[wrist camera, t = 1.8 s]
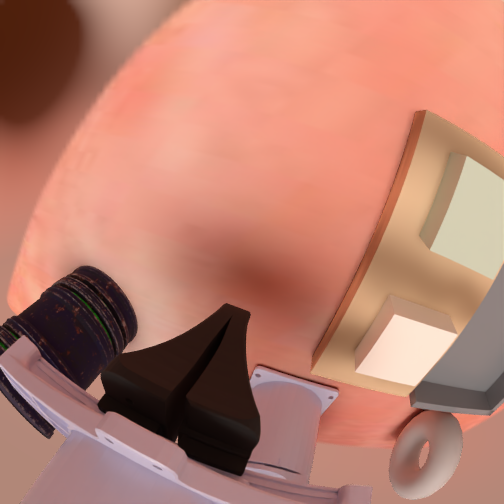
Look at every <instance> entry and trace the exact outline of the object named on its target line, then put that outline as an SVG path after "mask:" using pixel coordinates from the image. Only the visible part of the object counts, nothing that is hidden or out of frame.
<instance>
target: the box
mask: <svg viewBox="0 0 504 504" xmlns="http://www.w3.org/2000/svg"><path fill="white" fill-rule="evenodd" d="M409 396H410V404H411V407H414V408H421V409H428V410H435V411H443V412H451V413H461V414H473V415H491V414H492V413H493V412H494V411H495V410H496V409H497V408H498V407H499V406H500V405H501V404H503V403H504V263H503V265H502V267H501V269H500V271H499V273H498V275H497V277H496V279H495V280H494V282H493V284H492V286H491V287H490V289H489V291H488V293H487V294H486V296H485V298H484V299H483V301H482V302H481V304H480V306H479V307H478V309H477V310H476V312H475V313H474V315H473V316H472V318H471V319H470V321H469V322H468V324H467V325H466V326H465V328H464V329H463V331H462V332H461V333H460V335H459V336H458V338H457V339H456V340H455V342H454V343H453V344H452V345H451V347H450V348H449V349H448V351H447V352H446V353H445V354H444V356H443V357H442V358H441V359H440V360H439V362H438V363H437V364H436V365H435V366H434V368H433V369H432V370H431V371H430V372H429V373H428V374H427V376H426V377H425V378H424V379H423V380H422V381H421V382H420V383H419V384H418V385H417V386H416V388H415V389H414V390H413V391H412V392H411V393H410V394H409Z"/></svg>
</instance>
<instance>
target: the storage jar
mask: <svg viewBox="0 0 504 504" xmlns="http://www.w3.org/2000/svg"><path fill="white" fill-rule="evenodd" d="M136 333H137V320H136V315H135V313H134V310H133V308H132V306H131V304H130V302H129V300H128V299H127V297H126V295H125V294H124V293H123V291H122V290H121V289H120V288H119V286H118V285H117V284H116V283H115V282H114V281H113V280H112V279H111V278H110V277H109V276H107V275H106V274H105V273H103V272H102V271H100V270H98V269H96V268H94V267H91V266H81V267H79V268H77V269H76V270H75V271H74V272H73V273H72V274H69V275H67V276H66V277H63V278H61V279H60V280H58V281H57V282H56V283H54V284H53V285H52V287H50V288H48V289H47V290H46V291H45V292H43V293H42V295H41V297H40V299H39V300H37V301H36V302H35V303H33V304H32V305H31V306H29V307H28V308H27V309H26V310H24V311H23V312H22V313H21V314H19V315H18V316H12V317H11V318H10V319H7V321H6V322H5V323H4V324H3V325H2V326H0V356H1V355H2V354H3V353H4V352H5V351H6V350H7V349H8V348H10V347H11V346H12V345H13V344H14V343H15V342H16V341H17V340H18V339H19V338H21V337H22V336H23V335H25V336H26V337H27V338H28V339H29V340H30V341H31V342H32V343H33V344H34V345H35V346H36V347H37V348H38V350H39V352H40V354H41V357H42V358H43V359H44V360H46V361H47V362H48V363H49V364H50V365H52V366H53V367H54V368H55V369H57V370H58V371H59V372H60V373H62V374H63V375H64V376H65V377H67V378H68V379H69V380H71V381H72V382H73V383H75V384H76V385H77V386H79V387H80V388H82V389H83V390H84V391H86V389H87V388H88V387H89V386H90V385H91V383H92V382H93V381H94V380H95V379H96V378H97V376H98V375H99V374H100V373H102V371H103V370H104V369H105V368H106V366H107V365H108V364H109V363H110V362H111V361H112V360H113V359H114V358H115V357H116V356H118V355H119V354H122V352H123V350H124V349H125V347H126V346H127V344H128V343H129V342H131V341H132V340H133V338H134V337H135V336H136ZM0 391H1V392H2V393H3V395H4V396H5V397H6V398H7V399H8V401H9V402H10V403H11V404H12V405H13V406H14V407H15V408H16V410H17V411H18V412H19V413H20V414H21V415H22V416H23V417H24V418H25V419H26V420H27V421H28V422H29V423H30V424H31V425H32V426H33V427H34V428H36V429H37V430H38V431H39V432H40V433H41V434H42V435H44V436H45V437H46V438H48V439H50V438H51V436H52V435H53V434H54V433H53V431H54V430H55V429H56V428H54V427H53V426H52V425H51V424H50V423H49V422H48V421H47V420H46V419H45V418H44V417H42V416H41V415H40V414H39V413H38V412H37V411H36V410H35V409H34V408H33V407H32V406H31V405H30V404H29V403H28V402H27V401H26V400H25V399H24V398H23V397H22V396H21V395H20V394H19V393H18V391H17V390H16V389H15V388H14V387H13V386H12V384H11V383H10V381H9V380H8V378H7V377H6V375H5V374H4V372H3V371H2V369H1V367H0Z"/></svg>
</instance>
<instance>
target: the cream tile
mask: <svg viewBox="0 0 504 504" xmlns="http://www.w3.org/2000/svg"><path fill="white" fill-rule="evenodd" d="M457 335H458V334H457V331H456V329H455V327H454V325H453V322H452V320H451V318H450V316H449V315H447V314H444V313H441V312H438V311H435V310H432V309H430V308H427V307H424V306H421V305H418V304H415V303H413V302H410V301H407V300H404V299H401V298H398V297H396V296H393V295H390V294H389V296H388V298H387V300H386V301H385V303H384V305H383V307H382V308H381V310H380V312H379V313H378V315H377V317H376V318H375V320H374V322H373V323H372V325H371V326H370V328H369V330H368V331H367V333H366V334H365V336H364V338H363V339H362V341H361V342H360V344H359V345H358V347H357V348H356V350H355V372H356V373H360V374H364V375H368V376H372V377H376V378H380V379H384V380H388V381H393V382H397V383H402V384H406V385H411V386H416V385H417V384H418V383H419V382H420V380H421V379H422V378H423V377H424V376H425V375H426V374H427V373H428V372H429V370H430V369H431V368H432V367H433V366H434V365H435V363H436V362H437V361H438V360H439V359H440V357H441V356H442V355H443V354H444V352H445V351H446V350H447V349H448V347H449V346H450V345H451V343H452V342H453V341H454V339H455V338H456V337H457Z"/></svg>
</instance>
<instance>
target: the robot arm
mask: <svg viewBox="0 0 504 504" xmlns="http://www.w3.org/2000/svg"><path fill="white" fill-rule="evenodd" d="M250 315H251V314H250V312H249V311H246V310H243V309H241V308H238V307H235V306H233V305H230V304H227V303H226V304H224V305H223V306H222V307H221V308H219V309H218V310H217V311H216V312H215V313H213V314H212V315H211V316H210V317H208V318H207V319H205V320H204V321H203V322H201V323H200V324H198V325H197V326H195V327H193V328H192V329H190V330H189V331H187V332H185V333H183V334H181V335H179V336H177V337H175V338H173V339H171V340H169V341H166V342H164V343H161V344H159V345H156V346H152V347H149V348H146V349H142V350H138V351H134V352H128V353H122V354H119V355H118V356H116V357H115V358H114V359H113V360H112V361H111V362H110V363H109V364H108V365H107V366H106V368H105V369H104V370H103V371H102V373H101V380H102V384H103V387H104V389H105V394H104V396H103V397H102V398H101V399H100V401H99V400H97V399H96V398H95V397H93V396H91V395H90V394H88V393H87V392H86V391H84V390H83V389H82V388H80V387H79V386H77V385H76V384H75V383H73V382H72V381H71V380H69V379H68V378H67V377H65V376H64V375H63V374H62V373H60V372H59V371H58V370H57V369H55V368H54V367H53V366H52V365H50V364H49V363H48V362H47V361H46V360H44V359H43V358H42V357H41V354H40V352H39V350H38V348H37V347H36V346H35V345H34V344H33V343H32V342H31V341H30V340H29V339H28V338H27V337H26V336H25V335H23V336H22V337H21V338H19V339H18V340H17V341H16V342H15V343H14V344H13V345H12V346H11V347H10V348H8V349H7V350H6V351H5V352H4V353H3V354H2V355H1V356H0V367H1V369H2V371H3V372H4V374H5V375H6V377H7V378H8V380H9V381H10V383H11V384H12V386H13V387H14V388H15V389H16V390H17V391H18V393H19V394H20V395H21V396H22V397H23V398H24V399H25V400H26V401H27V402H28V403H29V404H30V405H31V406H32V407H33V408H34V409H35V410H36V411H37V412H38V413H39V414H40V415H41V416H42V417H44V418H45V419H46V420H47V421H48V422H49V423H50V424H51V425H52V426H53V427H54V428H56V429H57V430H58V431H59V432H60V433H61V434H62V435H64V436H65V437H66V438H67V439H66V440H65V442H64V443H63V444H62V446H61V447H60V448H59V450H58V451H57V452H56V454H55V455H54V456H53V458H52V459H51V460H50V462H49V463H48V465H47V466H46V467H45V469H44V470H43V471H42V473H41V474H40V475H39V477H38V478H37V480H36V481H35V483H34V484H33V485H32V487H31V488H30V489H29V491H28V492H27V494H26V495H25V496H24V498H23V500H22V501H21V502H20V504H371V496H372V486H365V485H345V486H342V487H341V488H339V489H338V488H330V487H322V486H316V485H310V484H309V478H310V473H311V468H312V463H313V458H314V452H315V446H316V441H317V435H318V429H319V423H320V416H321V415H322V414H323V413H324V412H325V410H326V409H327V408H328V407H329V406H330V405H331V404H332V402H333V401H334V400H335V399H336V398H337V397H338V395H339V391H338V390H337V389H334V388H331V387H327V386H323V385H320V384H316V383H313V382H309V381H306V380H303V379H299V378H296V377H293V376H290V375H286V374H283V373H280V372H277V371H274V370H271V369H268V368H265V367H263V366H257V367H255V369H254V372H253V374H252V377H251V379H250V381H249V376H248V369H247V360H246V332H247V325H248V321H249V318H250ZM177 437H178V444H177V443H175V441H176V439H177Z"/></svg>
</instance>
